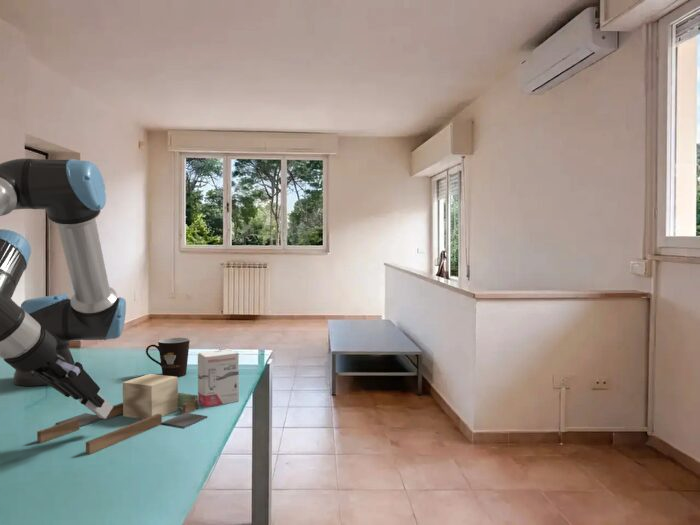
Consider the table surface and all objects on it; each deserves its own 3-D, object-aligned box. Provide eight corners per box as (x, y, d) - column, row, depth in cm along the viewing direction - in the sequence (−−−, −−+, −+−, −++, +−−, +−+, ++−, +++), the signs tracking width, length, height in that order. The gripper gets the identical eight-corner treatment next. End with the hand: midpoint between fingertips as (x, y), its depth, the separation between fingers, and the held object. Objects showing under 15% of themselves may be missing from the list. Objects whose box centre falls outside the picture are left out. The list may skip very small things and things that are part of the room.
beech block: (123, 416, 111) (122, 382, 111) (150, 406, 119) (149, 373, 119) (152, 421, 108) (151, 385, 108) (178, 409, 116) (177, 376, 116)
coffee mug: (196, 373, 150) (196, 338, 149) (175, 380, 142) (174, 344, 141) (166, 369, 154) (165, 336, 154) (143, 375, 147) (143, 340, 146)
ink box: (203, 408, 117) (203, 356, 116) (197, 402, 121) (196, 352, 120) (240, 401, 122) (239, 351, 121) (232, 396, 126) (231, 348, 125)
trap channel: (16, 437, 99) (16, 422, 99) (132, 398, 124) (132, 386, 124) (114, 459, 88) (114, 442, 88) (219, 412, 114) (219, 398, 114)
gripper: (-19, 357, 86) (72, 425, 102) (32, 364, 81) (120, 434, 97) (12, 322, 91) (94, 391, 107) (62, 326, 86) (141, 398, 102)
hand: (106, 412), depth 102 cm, fingers closed
